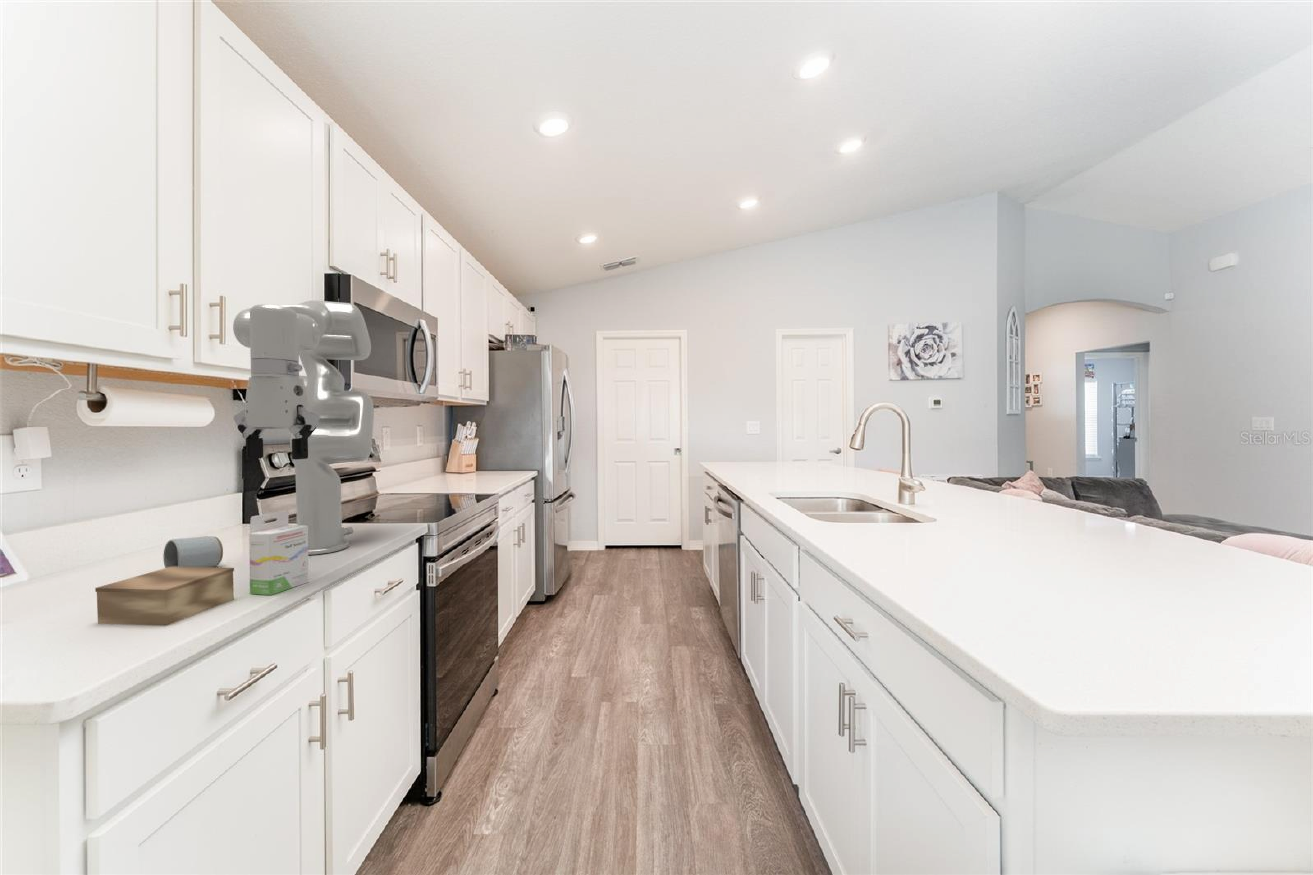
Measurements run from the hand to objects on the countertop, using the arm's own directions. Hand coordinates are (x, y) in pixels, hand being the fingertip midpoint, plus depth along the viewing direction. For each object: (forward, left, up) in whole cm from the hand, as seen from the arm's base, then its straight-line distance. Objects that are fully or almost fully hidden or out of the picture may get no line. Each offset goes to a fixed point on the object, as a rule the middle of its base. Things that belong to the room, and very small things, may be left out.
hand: (277, 458), depth 99 cm
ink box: (0, 0, -26) cm, 26 cm away
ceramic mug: (-8, -30, -26) cm, 40 cm away
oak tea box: (+13, -9, -26) cm, 30 cm away
